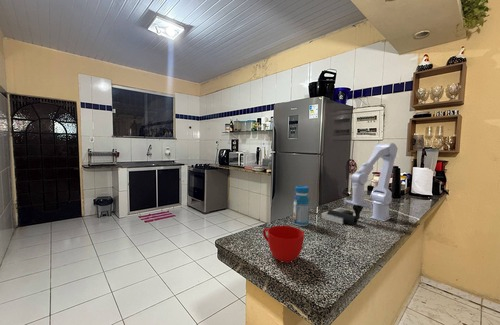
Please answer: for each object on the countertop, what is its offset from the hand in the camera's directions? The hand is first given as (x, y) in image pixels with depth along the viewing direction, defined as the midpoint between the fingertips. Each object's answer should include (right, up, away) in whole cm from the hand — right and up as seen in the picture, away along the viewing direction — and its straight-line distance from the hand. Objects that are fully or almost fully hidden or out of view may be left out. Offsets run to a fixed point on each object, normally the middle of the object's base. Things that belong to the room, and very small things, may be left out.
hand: (357, 218), depth 124 cm
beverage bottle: (-33, -2, -5) cm, 33 cm away
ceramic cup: (-49, -4, -41) cm, 64 cm away
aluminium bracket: (-6, -1, +7) cm, 9 cm away
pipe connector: (-6, -2, +2) cm, 7 cm away
